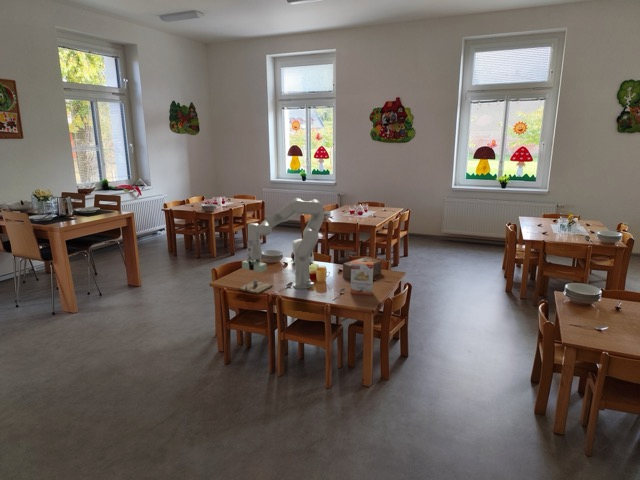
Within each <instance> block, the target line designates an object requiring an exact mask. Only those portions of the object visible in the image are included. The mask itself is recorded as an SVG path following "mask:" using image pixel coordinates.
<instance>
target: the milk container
mask: <svg viewBox="0 0 640 480" xmlns="http://www.w3.org/2000/svg"><path fill="white" fill-rule="evenodd" d="M302 239H303V238H298V239H294V240H293V241H292V255H291V261H292V263H293V264H295V244H296V243H297V242H298V241H300V240H302ZM313 251H314V250H313ZM313 251H312V253H311V254H310V256H309V261H310V264H309V265H311V264H313V262H314V260H315V259H314V258H315V256H314V252H313Z"/></svg>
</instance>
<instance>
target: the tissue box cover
mask: <svg viewBox="0 0 640 480" xmlns="http://www.w3.org/2000/svg"><path fill="white" fill-rule="evenodd" d="M352 261H361V262H374V264H373V277H374V275H375V276H378V275H380V273H381V274H382V260H379V259H376V258H374V257H369V256H364V257H361V258H358V259H357V258H356V259H353V260H351V261H347V262H344V263H342V277H343V278H346V279H349V280H351V263H352ZM377 274H378V275H377Z"/></svg>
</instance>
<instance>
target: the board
mask: <svg viewBox="0 0 640 480" xmlns="http://www.w3.org/2000/svg"><path fill="white" fill-rule="evenodd" d="M246 284H247V289H245V284H244V285H242V286H240V287H238V291H243V292H246V293H251V294H256V295H259V294H261V293H264V292H265V291H267V290H269V289H271V288H272V287H273V284H271V283H266V282H262V281H258V279H253V280H252V281H250V282H248V283H246Z"/></svg>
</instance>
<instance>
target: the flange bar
mask: <svg viewBox="0 0 640 480" xmlns="http://www.w3.org/2000/svg"><path fill="white" fill-rule="evenodd" d="M246 260H247V259H245V260H243V261H241V268H242V269H246V270H249V264H248V262H247V261H246ZM251 262H252V261H251ZM253 264H254V270H253V271H254V272H258V273H264V272H265V271H267V266H268V265H267V263H265V262H261V261H260V262H256V260H254V261H253Z"/></svg>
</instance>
